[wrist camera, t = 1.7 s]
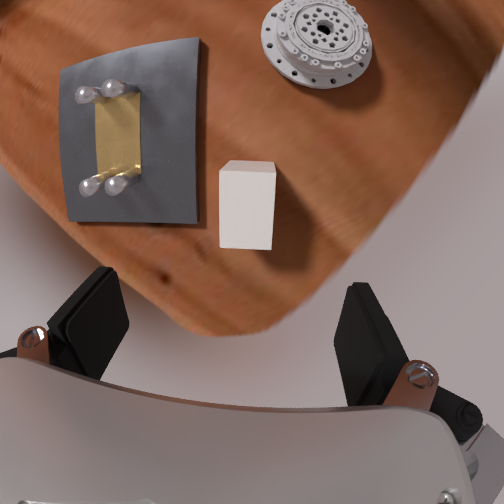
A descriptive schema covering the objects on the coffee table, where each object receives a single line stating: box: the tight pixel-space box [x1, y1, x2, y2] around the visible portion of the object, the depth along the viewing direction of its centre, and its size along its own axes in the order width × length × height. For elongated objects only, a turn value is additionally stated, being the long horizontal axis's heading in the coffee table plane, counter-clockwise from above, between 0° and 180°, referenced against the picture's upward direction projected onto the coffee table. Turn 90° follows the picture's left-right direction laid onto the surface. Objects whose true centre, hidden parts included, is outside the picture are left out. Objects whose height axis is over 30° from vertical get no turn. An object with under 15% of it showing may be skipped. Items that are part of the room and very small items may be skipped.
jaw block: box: [219, 160, 276, 250], centre depth 23 cm, size 6×4×6 cm, turn 178°
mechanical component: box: [261, 0, 372, 89], centre depth 17 cm, size 10×4×10 cm
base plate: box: [59, 37, 201, 224], centre depth 21 cm, size 18×16×5 cm
